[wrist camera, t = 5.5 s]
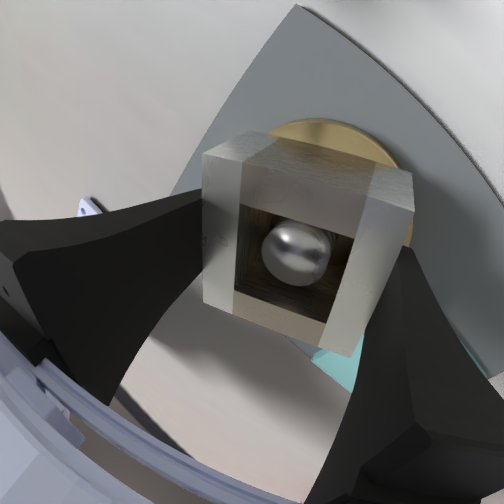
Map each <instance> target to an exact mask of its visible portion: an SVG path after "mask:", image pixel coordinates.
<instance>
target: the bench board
mask: <svg viewBox="0 0 504 504" xmlns="http://www.w3.org/2000/svg"><path fill="white" fill-rule="evenodd" d="M307 118H328V119H334V120H340V121H343V122H346V123H349V124H352V125H354V126H356V127H358V128H360V129H363V130H365V131H366V132H368V133H369V134H371V135H372V136H374V137H375V138H376V139H378V140H379V141H380V142H381V143H382V144H383V145H384V146H386V148H387V149H388V150H389V151H390V152H391V153H392V154H393V156H394V157H395V158H396V160H397V161H398V163H399V164H400V166H401V167H402V169H403V170H404V171H407V172H410V173H412V182H413V193H414V207H415V213H414V216H413V231H412V237H411V241H410V244H409V248H412V249H413V251H414V253H415V255H416V257H417V260H418V262H419V264H420V266H421V268H422V271H423V273H424V275H425V277H426V279H427V281H428V283H429V285H430V288H431V290H432V292H433V294H434V296H435V298H436V300H437V302H438V303H439V305H440V307H441V309H442V311H443V313H444V315H445V317H446V318H447V320H448V322H449V324H450V325H451V327H452V329H453V330H454V332H455V333H456V335H457V337H458V338H459V339H460V340H461V341H462V343H463V344H464V345H465V347H466V348H467V349H468V350H469V352H470V353H471V354H472V355H473V357H474V358H475V359H476V361H477V362H478V363H479V365H480V366H481V367H482V369H483V370H484V371H485V373H486V374H487V379H489V378H491V377H494V376H496V375H498V374H500V373H502V372H503V371H504V207H503V206H502V204H501V203H500V201H499V200H498V198H497V197H496V195H495V194H494V192H493V191H492V189H491V188H490V187H489V185H488V184H487V182H486V181H485V180H484V178H483V177H482V175H481V174H480V173H479V171H478V170H477V169H476V167H475V166H474V165H473V163H472V162H471V161H470V160H469V158H468V157H467V156H466V155H465V153H464V152H463V151H462V150H461V148H460V147H459V146H458V145H457V143H456V142H455V141H454V140H453V139H452V138H451V136H450V135H449V134H448V133H447V132H446V131H445V129H444V128H443V127H442V126H441V125H440V124H439V123H438V122H437V121H436V119H435V118H434V117H433V116H432V115H431V114H430V113H429V112H428V111H427V110H426V109H425V108H424V107H423V106H422V105H421V104H420V103H419V102H418V101H417V100H416V99H415V98H414V97H413V96H412V95H411V94H410V93H409V92H408V91H407V90H406V89H405V88H404V87H403V86H402V85H401V84H400V83H399V82H398V81H397V80H396V79H395V78H393V77H392V76H391V75H390V74H389V73H388V72H387V71H386V70H385V69H383V68H382V67H381V66H380V65H379V64H378V63H376V62H375V61H374V60H373V59H372V58H371V57H369V56H368V55H367V54H366V53H364V52H363V51H362V50H361V49H360V48H358V47H357V46H356V45H354V44H353V43H352V42H351V41H349V40H348V39H347V38H345V37H344V36H343V35H341V34H340V33H339V32H337V31H336V30H335V29H333V28H332V27H330V26H329V25H328V24H326V23H325V22H323V21H322V20H320V19H319V18H317V17H316V16H314V15H313V14H311V13H310V12H308V11H307V10H305V9H304V8H302V7H301V6H299V5H297V4H295V5H294V7H293V8H292V9H291V11H290V12H289V13H288V14H287V16H286V17H285V18H284V19H283V21H282V22H281V23H280V25H279V26H278V27H277V29H276V30H275V31H274V33H273V34H272V35H271V37H270V38H269V39H268V41H267V42H266V43H265V45H264V46H263V48H262V49H261V50H260V52H259V53H258V55H257V56H256V57H255V59H254V60H253V62H252V63H251V64H250V66H249V67H248V69H247V70H246V72H245V73H244V75H243V76H242V78H241V79H240V81H239V82H238V83H237V85H236V86H235V88H234V89H233V91H232V93H231V94H230V96H229V97H228V99H227V100H226V102H225V103H224V105H223V106H222V108H221V109H220V111H219V113H218V114H217V116H216V117H215V119H214V121H213V122H212V124H211V125H210V127H209V129H208V130H207V132H206V134H205V135H204V137H203V139H202V140H201V142H200V144H199V145H198V147H197V149H196V150H195V152H194V154H193V155H192V157H191V159H190V161H189V162H188V164H187V166H186V168H185V169H184V171H183V173H182V175H181V176H180V178H179V180H178V182H177V184H176V185H175V187H174V189H173V191H172V193H171V194H170V196H173V195H177V194H180V193H184V192H188V191H192V190H196V189H200V188H202V153H204V152H206V151H208V150H210V149H212V148H214V147H216V146H218V145H220V144H222V143H224V142H226V141H228V140H230V139H232V138H234V137H236V136H238V135H241V134H243V133H245V132H247V131H249V130H250V131H255V132H260V133H265V134H266V133H268V132H270V131H272V130H273V129H275V128H277V127H279V126H282V125H284V124H286V123H289V122H292V121H296V120H300V119H307ZM170 196H169V197H170ZM282 335H284V334H282ZM284 336H285V337H286V338H287V339H288V340H290V341H291V342H292V343H293V344H294V345H296V346H297V347H298V348H299V349H300V350H302V351H303V352H304V353H305V354H307V355H308V356H309V357H310V358H311V359H312V358H313V356H314V353H316V352H318V351H320V350H322V348H319V347H316V346H314V345H311V344H308V343H305V342H303V341H300V340H297V339H294V338H292V337H289V336H286V335H284Z"/></svg>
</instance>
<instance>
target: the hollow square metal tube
mask: <svg viewBox="0 0 504 504" xmlns="http://www.w3.org/2000/svg"><path fill="white" fill-rule="evenodd" d="M272 213H273V214H277V215H280V216H284V217H287V218H290V219H293V220H297V221H300V222H303V223H306V224H310V225H313V226H316V227H319V228H323V229H326V230H329V231H332V232H335V233H338V234H341V235H344V236H348V237H351V238H354V239H355V240H354V244H353V247H352V250H351V253H350V256H349V259H348V263H347V266H346V269H345V270H344V269H341V268H338V267H335V266H332V265H329V264H327V267H326V269H325V271H324V274H323V275H322V277H321V278H320V279H319V280H318V281H316V282H315V283H313V284H310V285H306V286H295V285H290V284H287V283H285V282H283V281H281V280H279V279H278V278H276V277H275V276H274V275H273V274H272V273H271V272H270V271H269V270H268V268H267V267H266V265H265V263H264V261H263V258H262V252H261V251H262V244H263V241H264V240H265V238H266V237H267V235H268V234H269V233H270V227H271V219H272ZM414 213H415V207H414V193H413V182H412V173H410V172H407V171H404V170H401V169H398V168H395V167H392V166H389V165H386V164H383V163H379V162H376V161H373V160H369V159H366V158H363V157H359V156H356V155H352V154H349V153H345V152H341V151H338V150H334V149H330V148H326V147H322V146H318V145H314V144H310V143H306V142H302V141H298V140H293V139H289V138H284V137H280V136H275V135H270V134H265V133H260V132H255V131H250V130H249V131H247V132H245V133H243V134H241V135H238V136H236V137H234V138H232V139H230V140H228V141H226V142H224V143H222V144H220V145H218V146H216V147H214V148H212V149H210V150H208V151H206V152H204V153H202V253H203V270H202V280H203V302H204V303H206V304H208V305H211V306H213V307H216V308H218V309H220V310H223V311H225V312H228V313H230V314H233V315H235V316H238V317H240V318H242V319H245V320H248V321H250V322H253V323H255V324H258V325H260V326H263V327H265V328H268V329H271V330H273V331H276V332H278V333H281V334H284V335H286V336H289V337H292V338H294V339H297V340H300V341H303V342H305V343H308V344H311V345H314V346H316V347H319V348H322V349H325V350H328V351H331V352H333V353H336V354H339V355H342V356H345V357H348V358H351V356H352V354H353V352H354V350H355V348H356V347H357V345H358V343H359V341H360V339H361V337H362V335H363V333H364V331H365V328H366V326H367V324H368V322H369V320H370V318H371V316H372V314H373V312H374V309H375V307H376V305H377V303H378V301H379V299H380V296H381V294H382V292H383V290H384V288H385V285H386V283H387V281H388V278H389V276H390V274H391V271H392V269H393V267H394V264H395V262H396V259H397V258H398V255H399V253H400V250H401V248H402V245H403V243H404V240H405V237H406V235H407V232H408V230H409V227H410V224H411V221H412V219H413V216H414Z"/></svg>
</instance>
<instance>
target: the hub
mask: <svg viewBox="0 0 504 504" xmlns="http://www.w3.org/2000/svg"><path fill="white" fill-rule="evenodd" d="M266 134H270V135H275V136H280V137H284V138H289V139H293V140H298V141H302V142H306V143H310V144H314V145H318V146H322V147H326V148H330V149H334V150H338V151H341V152H345V153H349V154H352V155H356V156H359V157H363V158H366V159H369V160H373V161H376V162H379V163H383V164H386V165H389V166H392V167H395V168H398V169H401V170H403V169H402V167H401V166H400V164H399V163H398V161H397V160H396V158H395V157H394V156H393V154H392V153H391V152H390V151H389V150H388V149H387V148H386V146H384V145H383V144H382V143H381V142H380V141H379V140H378V139H376V138H375V137H374V136H372V135H371V134H369V133H368V132H366V131H365V130H363V129H360V128H358V127H356V126H354V125H352V124H349V123H346V122H343V121H340V120H334V119H328V118H307V119H300V120H296V121H292V122H289V123H286V124H284V125H282V126H279V127H277V128H275V129H273V130H272V131H270V132H268V133H266ZM412 231H413V219H412V221H411V224H410V227H409V230H408V232H407V235H406V237H405V240H404V243H403V246H406V247H409V244H410V241H411V237H412ZM354 240H355V239H354V238H351V237H348V236H344V235H341V234H338V233H335V232H332V231H329V230H326V229H323V228H319V227H316V226H313V225H310V224H306V223H303V222H300V221H297V220H293V219H290V218H287V217H284V216H280V215H277V214H273V213H272V219H271V227H270V233H269V234H268V235H267V237H266V238H265V240H264V241H263V244H262V251H261V252H262V258H263V261H264V263H265V265H266V267H267V268H268V270H269V271H270V272H271V273H272V274H273V275H274V276H275V277H276V278H278V279H279V280H281V281H283V282H285V283H287V284H290V285H295V286H306V285H310V284H313V283H315V282H316V281H318V280H319V279H320V278H321V277H322V275H323V274H324V271H325V269H326V267H327V264H329V265H332V266H335V267H338V268H341V269H344V270H345V269H346V266H347V263H348V259H349V256H350V253H351V250H352V247H353V244H354Z"/></svg>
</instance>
